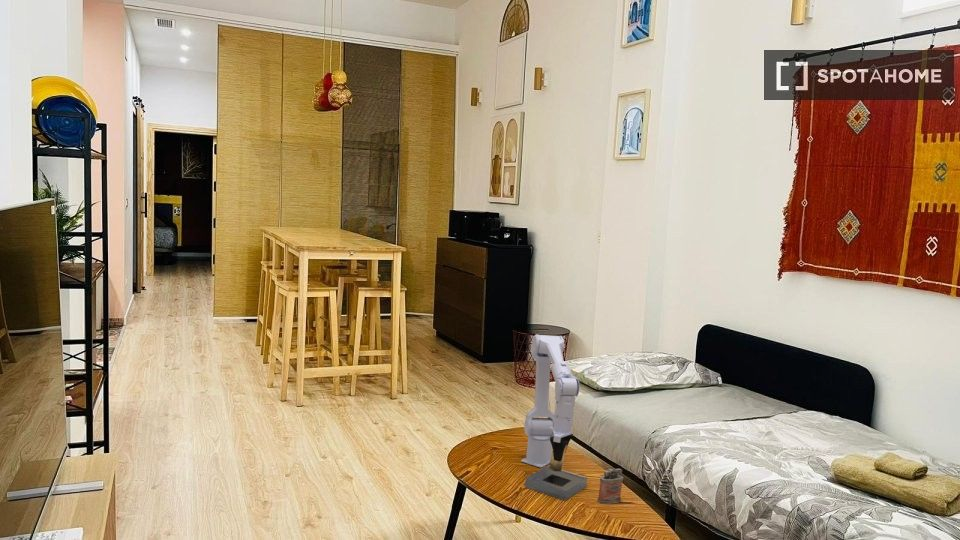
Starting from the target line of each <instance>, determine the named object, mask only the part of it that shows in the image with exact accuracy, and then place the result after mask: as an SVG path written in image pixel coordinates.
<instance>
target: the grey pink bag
mask: <svg viewBox="0 0 960 540" xmlns="http://www.w3.org/2000/svg"><path fill="white" fill-rule="evenodd" d="M622 472H623V469H621V468H615V469H612V468H608V469H607V470H604V471H603V476H600V477H599V481H600V482H599V489H598V497H597V503H598V502H599V503H598V504H601V505H607V504H609V505H610V504H617V503H619V502H622V501H621V500H622V498H621V495H622V488H623V487H622V485H623V480H624V476H622V475H621V474H622Z"/></svg>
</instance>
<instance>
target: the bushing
mask: <svg viewBox="0 0 960 540" xmlns="http://www.w3.org/2000/svg"><path fill="white" fill-rule="evenodd" d="M566 448H567V449H568V447H567V445H566V447H565V449H564V453H563V457H562V460H561V461H555V460H554V456H553V449H552V454H551V459H550V463H549V464H548V465H549V469H551V470H553V471H561V470H563V464H564V460H565V455H566V453H565V451H566V452H567V450H566Z"/></svg>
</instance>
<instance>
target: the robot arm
mask: <svg viewBox="0 0 960 540" xmlns="http://www.w3.org/2000/svg"><path fill="white" fill-rule="evenodd" d="M564 349H565V340H564V338H563V336H562V335H547V334H546V335H545V334H537V333H536V334H535V335H534V336H533V337H532V341H531V358H532V359H535V387H534V390H535V391H534V407H532V408H531V409H530V410H529V411H527V412H526V414H525V420H524V423H523V426H524V428H523V429H524V433H525V434H526V436H527V444H526V445H527V447H526V454H525V455H526V456H525V457H524V458H522V459H521V460H520V462H521V463H525V464H527V465H530V466H534V467H537V468H540V469H542V468H544V467H546V466H548V465H549V464H550V459H551V454H552V450H553V456H554V460H555V461H561V460H562V457H563V453H564V449H565V447H566V445H567V448H566V451H565V454H566V452H567V449H568V446H569V444H570V441H571V439H572V437H573V436H574V433H573V422H574V413H575V412H574V411H575V405H576V404H575V403H576V397H578V396H579V392H580V381H579V379H578V377H576V376H575V375H573V373H572V370H571V368H570V365H569V364H568V363H567V362H566V361H564V357H563V352H564ZM551 364H552V367H551ZM551 372H552V375H553V378H554V382H555V383H554V394H555V395H554V396H555V397H554V399H555V407H554V409H555V410H554V412H553V411H552V410H550V409H549V401H550V376H551Z"/></svg>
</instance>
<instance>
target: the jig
mask: <svg viewBox="0 0 960 540" xmlns="http://www.w3.org/2000/svg"><path fill="white" fill-rule="evenodd" d="M587 482H588V477H587V476H584V475H580V474H578V473H575V472H571V471H568V470H565V469H562V470H561V471H553V470H551V469H549V464H547V465H545V466H544V467H542V468H540V469H538V470H537V471H536V472H534V473H532V474H530V475H529V476H526V477H525V482H524V488H526V489H530V490H532V491H535V492H538V493H541V494H545V495H548V496H551V497H553V498H557V499H559V500H562V501H567V500H569V498H572V497H573V496H574V495H576V494H577V493H579V492H580V491H582V490H584V489H585V488H586V487H587Z"/></svg>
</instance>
